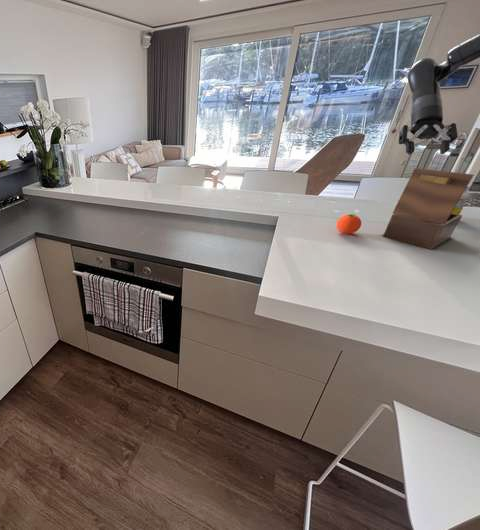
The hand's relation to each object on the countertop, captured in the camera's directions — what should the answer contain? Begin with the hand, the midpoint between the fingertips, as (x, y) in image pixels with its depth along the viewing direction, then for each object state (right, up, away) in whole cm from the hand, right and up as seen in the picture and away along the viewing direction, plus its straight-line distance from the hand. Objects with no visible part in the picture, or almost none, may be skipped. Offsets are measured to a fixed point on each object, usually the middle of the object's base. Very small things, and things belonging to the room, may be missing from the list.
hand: (427, 153), depth 96 cm
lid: (-9, -17, -9) cm, 21 cm away
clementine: (-22, -26, +7) cm, 35 cm away
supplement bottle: (+17, -21, +11) cm, 29 cm away
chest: (-3, -28, +1) cm, 28 cm away
